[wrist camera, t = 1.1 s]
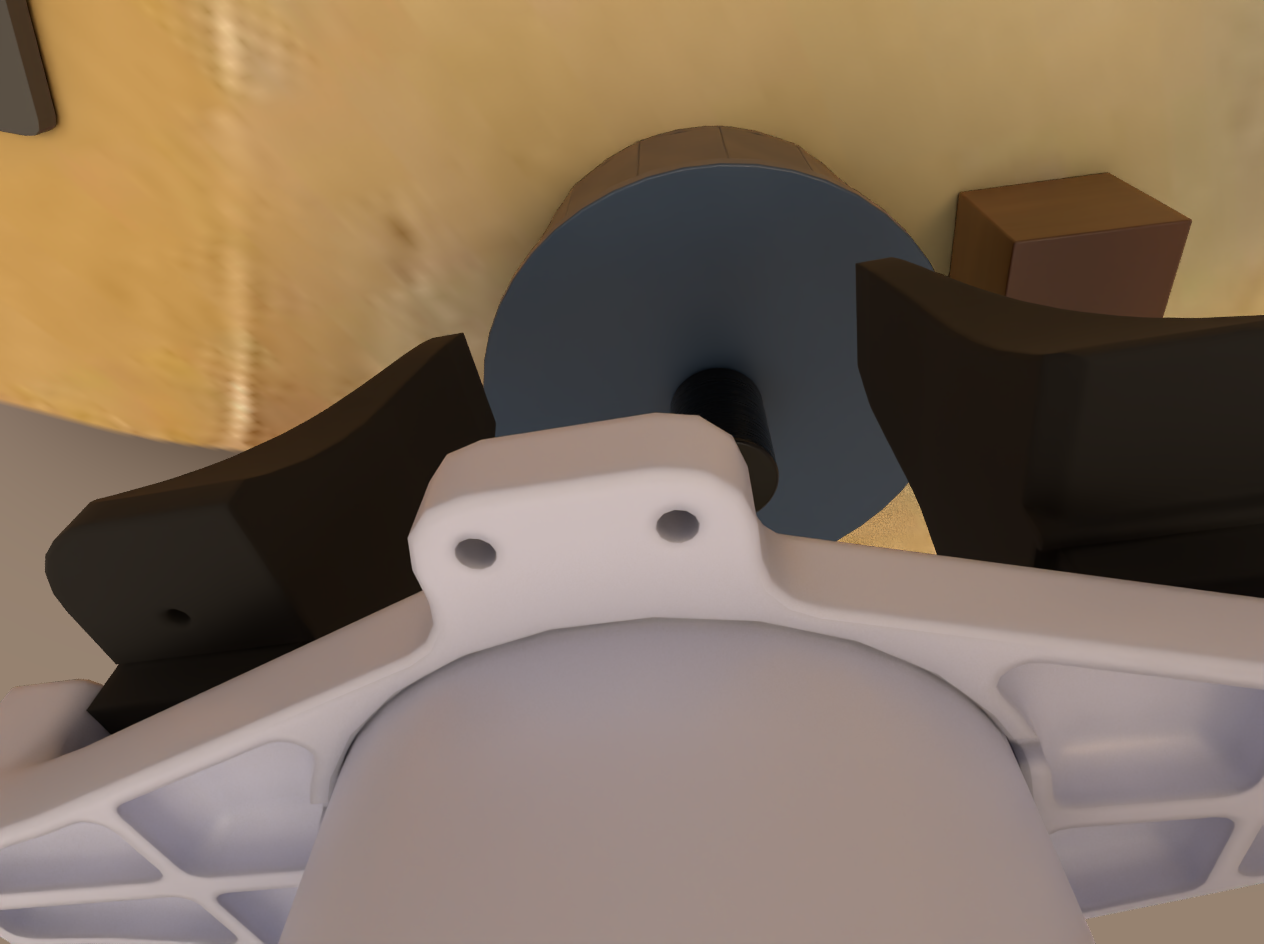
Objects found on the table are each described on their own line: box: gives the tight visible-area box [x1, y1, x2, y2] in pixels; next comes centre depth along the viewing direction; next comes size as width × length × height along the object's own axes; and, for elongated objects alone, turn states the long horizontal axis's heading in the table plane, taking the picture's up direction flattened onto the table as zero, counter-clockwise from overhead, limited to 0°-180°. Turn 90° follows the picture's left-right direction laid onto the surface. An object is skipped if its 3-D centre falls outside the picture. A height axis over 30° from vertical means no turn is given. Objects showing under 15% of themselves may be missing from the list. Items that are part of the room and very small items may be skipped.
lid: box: [483, 158, 935, 541], centre depth 19 cm, size 12×12×4 cm
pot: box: [540, 126, 851, 240], centre depth 22 cm, size 11×11×5 cm
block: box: [950, 173, 1192, 318], centre depth 21 cm, size 4×4×4 cm
